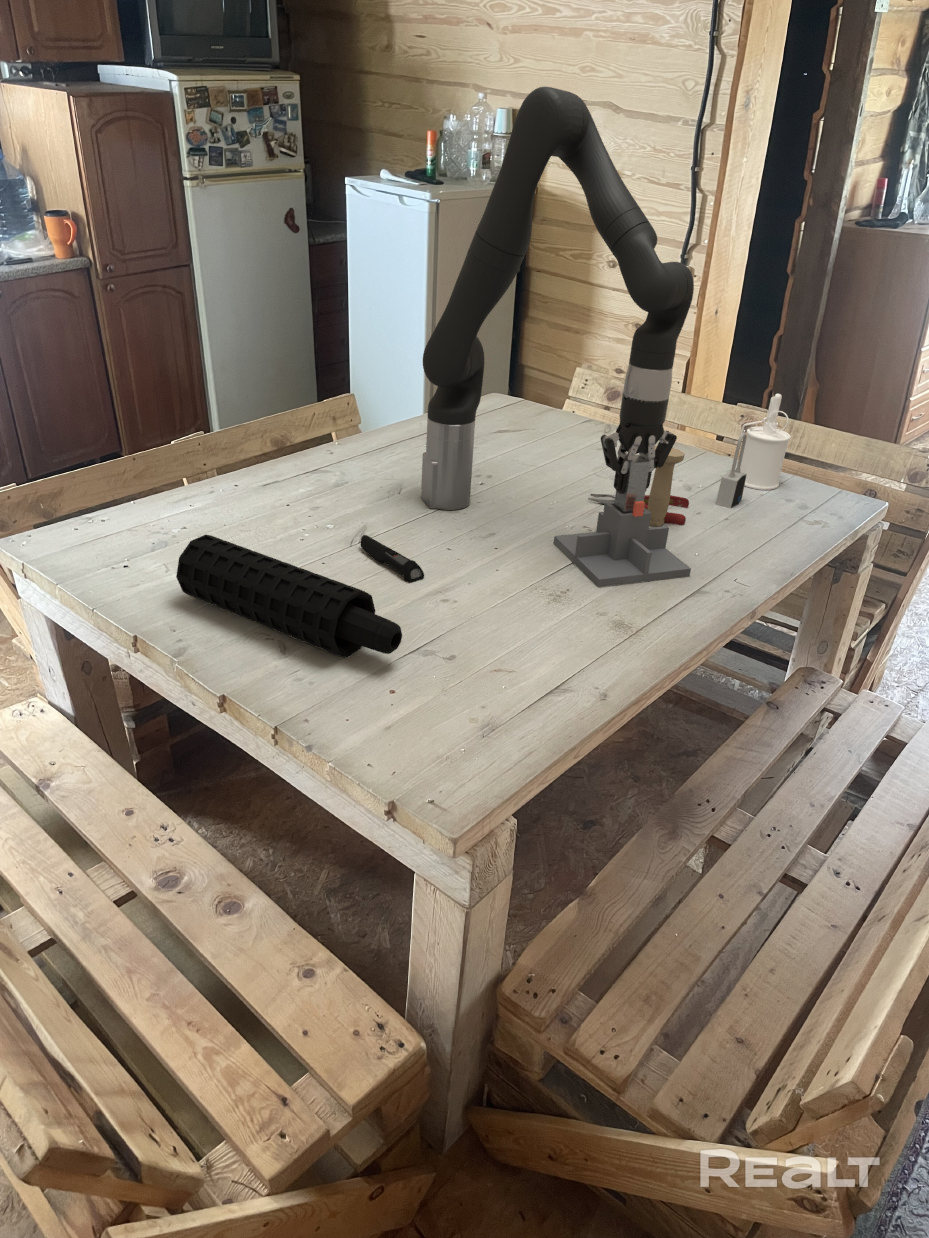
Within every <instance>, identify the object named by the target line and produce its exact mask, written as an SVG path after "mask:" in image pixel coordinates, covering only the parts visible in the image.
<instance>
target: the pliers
mask: <svg viewBox="0 0 929 1238" xmlns="http://www.w3.org/2000/svg"><path fill="white" fill-rule="evenodd" d="M615 495H616V494H603V493H590V494H589V496H590V497H588V498H587V500H588V501H593V502H597V503H599V504H603V505H604V504H605V503H607V502H614V501H615ZM649 495H650V494H645V497H644V502H645V506H644V508H646V509H647V510H648V501H649ZM669 506H672V507H678V508H684V509H688V508H689V507H690V501H689V499H688V498H686V497H682V496H677V495H671V494H670V501H669ZM664 519H665V520H664V523H663V524H668V525H669V524H670V525H675V526H684V525H686V519H687V518H686V516H685V515H684V514H683V513H677V512H671V511H670V512H669V511H667V513H666V516H665V518H664Z"/></svg>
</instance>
